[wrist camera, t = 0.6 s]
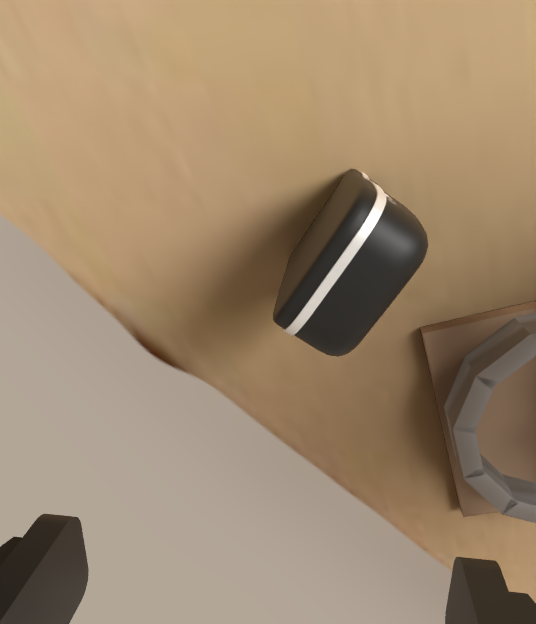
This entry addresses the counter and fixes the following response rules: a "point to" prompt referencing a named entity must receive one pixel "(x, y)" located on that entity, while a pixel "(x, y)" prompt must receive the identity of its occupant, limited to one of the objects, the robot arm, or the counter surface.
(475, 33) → the counter surface
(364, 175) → the battery charger
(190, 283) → the counter surface
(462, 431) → the ring collar
